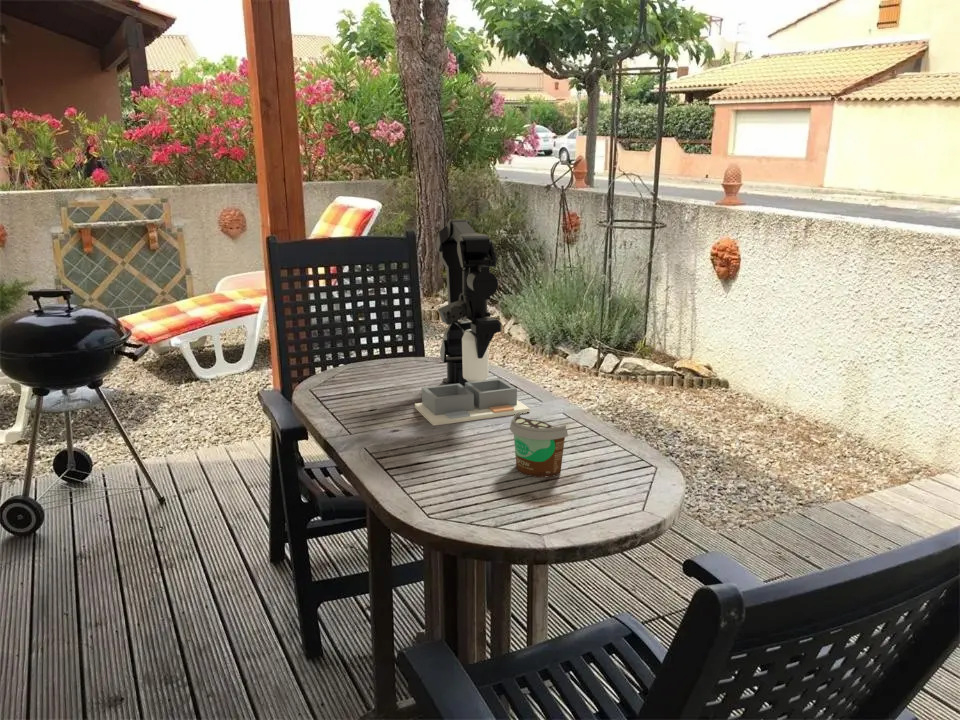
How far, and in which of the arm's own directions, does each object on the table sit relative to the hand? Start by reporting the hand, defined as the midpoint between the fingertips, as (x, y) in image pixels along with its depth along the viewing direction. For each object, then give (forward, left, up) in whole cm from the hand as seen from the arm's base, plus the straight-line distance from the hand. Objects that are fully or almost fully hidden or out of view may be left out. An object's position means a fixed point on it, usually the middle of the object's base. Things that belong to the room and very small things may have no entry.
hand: (475, 354), depth 183 cm
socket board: (+2, -2, -13) cm, 13 cm away
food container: (+41, -5, -13) cm, 43 cm away
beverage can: (0, 0, -6) cm, 6 cm away
